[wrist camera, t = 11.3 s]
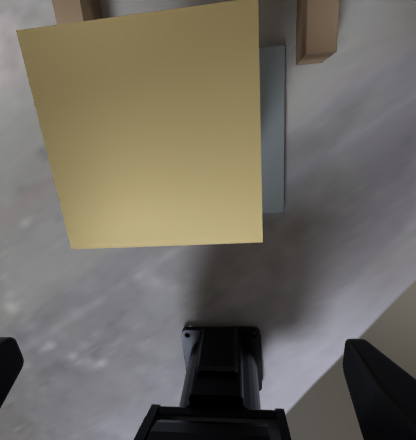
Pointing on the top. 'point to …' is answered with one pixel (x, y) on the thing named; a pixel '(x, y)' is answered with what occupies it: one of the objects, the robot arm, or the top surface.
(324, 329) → the top surface
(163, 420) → the robot arm
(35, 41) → the ochre block
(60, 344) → the top surface
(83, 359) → the top surface
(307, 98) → the top surface
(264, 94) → the slate mat
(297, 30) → the frame
